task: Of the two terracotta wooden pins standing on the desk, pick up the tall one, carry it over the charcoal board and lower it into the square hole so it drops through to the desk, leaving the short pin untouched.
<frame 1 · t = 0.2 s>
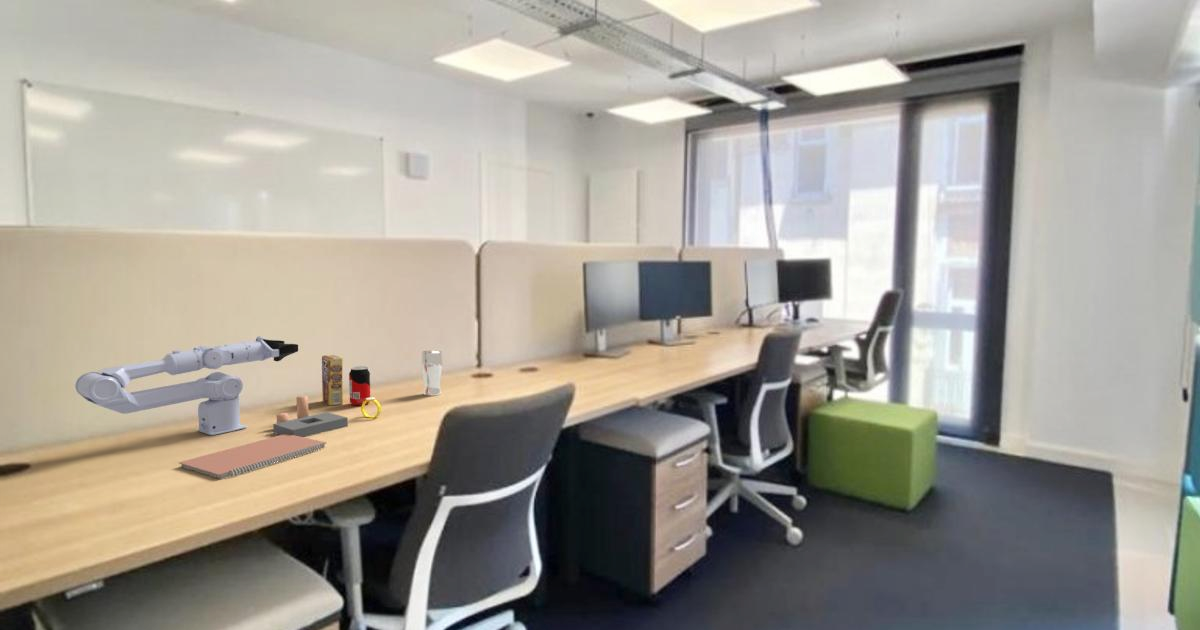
hand: (290, 346, 191), 21 cm above the table, tool horizontal, fingers open, 7 cm apart
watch: (371, 418, 191), on the table
long pin: (303, 420, 187), on the table
candy box: (333, 403, 209), on the table
beer glass: (432, 394, 223), on the table
hole board: (311, 429, 178), on the table
short pin: (282, 428, 179), on the table
beverage can: (360, 404, 208), on the table
notebook: (258, 460, 154), on the table
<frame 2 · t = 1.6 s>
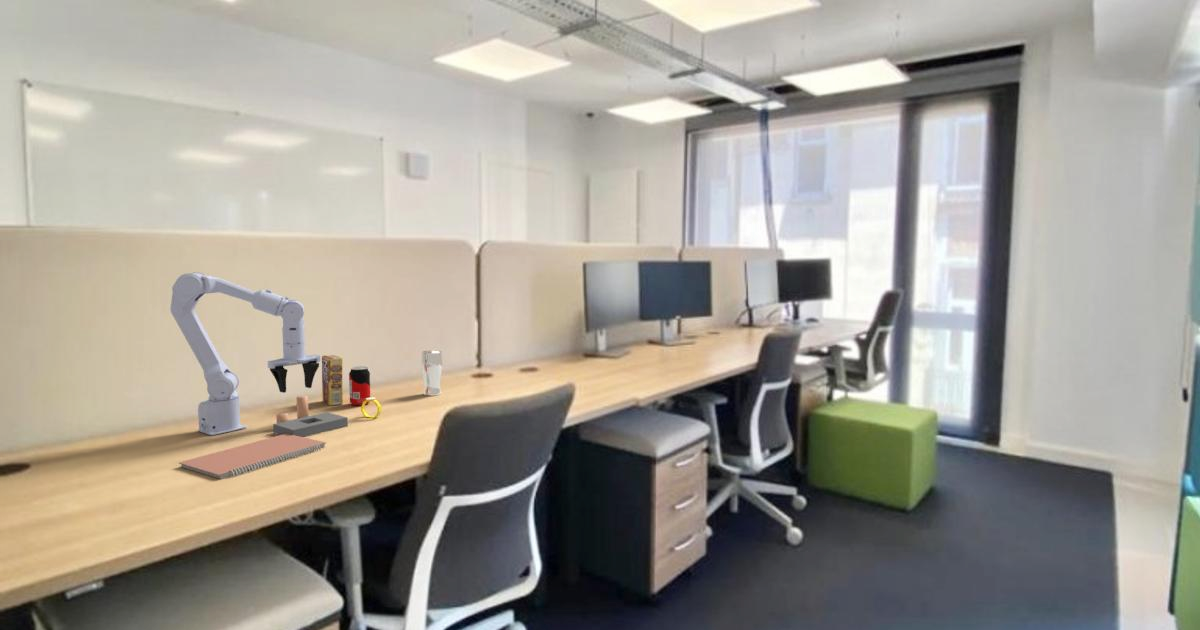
hand: (295, 389, 183), 10 cm above the table, tool pointing down, fingers open, 7 cm apart
nothing on the table moved.
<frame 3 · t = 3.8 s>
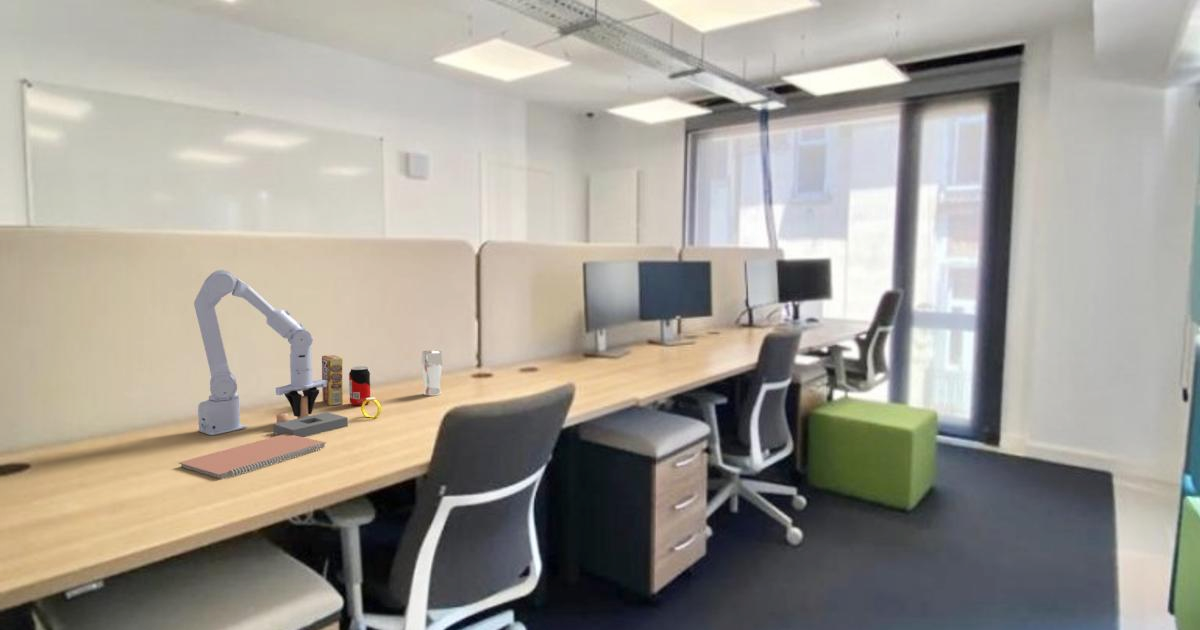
hand: (302, 414, 187), 2 cm above the table, tool pointing down, fingers closed on long pin, 3 cm apart
long pin: (303, 420, 187), on the table, touching gripper
everything else where it was.
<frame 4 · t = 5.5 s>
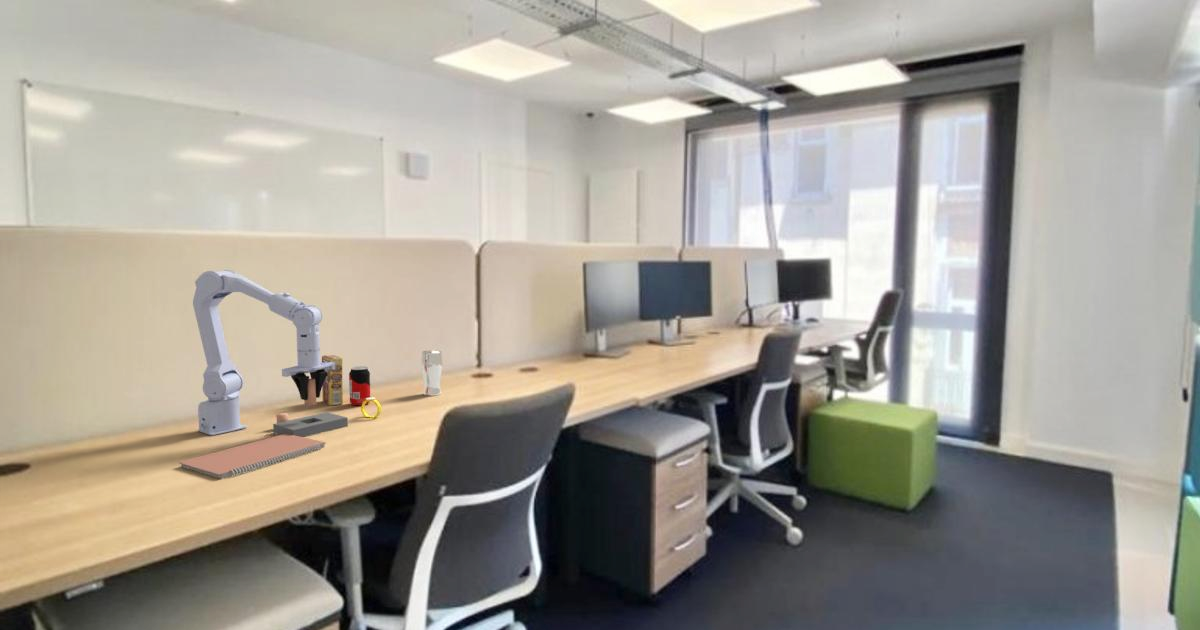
hand: (310, 398, 177), 9 cm above the table, tool pointing down, fingers closed on long pin, 3 cm apart
long pin: (310, 404, 177), point 7 cm above the table, touching gripper
everything else where it was.
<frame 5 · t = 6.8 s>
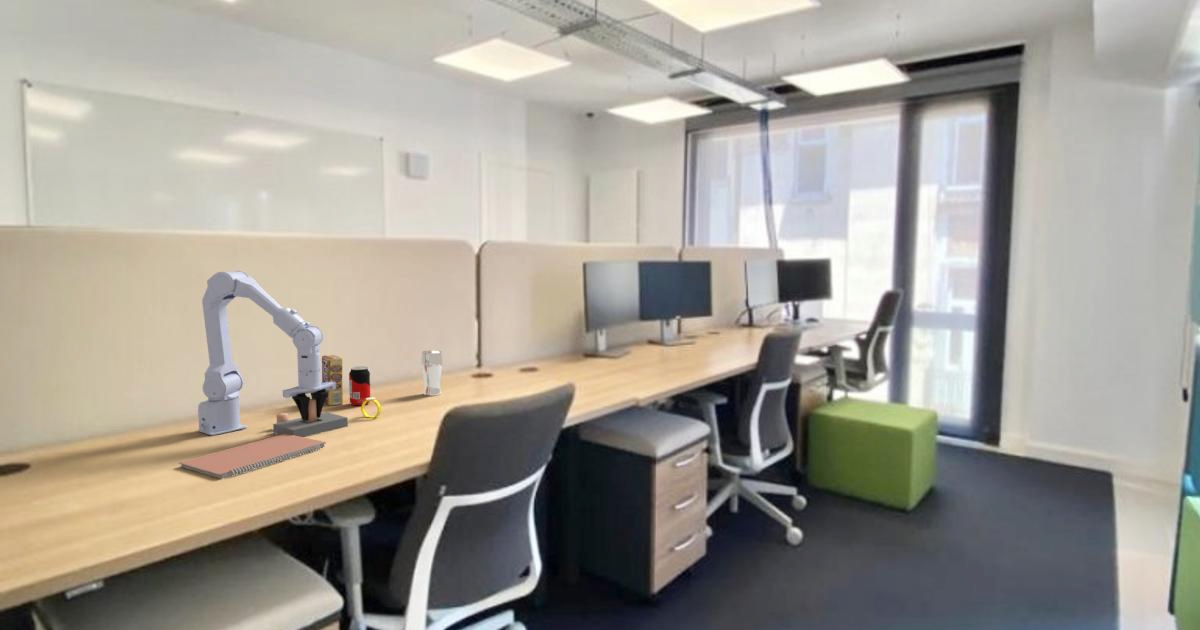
hand: (311, 418, 177), 3 cm above the table, tool pointing down, fingers closed on long pin, 3 cm apart
long pin: (311, 424, 178), point 1 cm above the table, touching gripper
everything else where it was.
when the fingers open (3 cm above the table, at t = 7.5 s): long pin drops 1 cm, resting in hole board.
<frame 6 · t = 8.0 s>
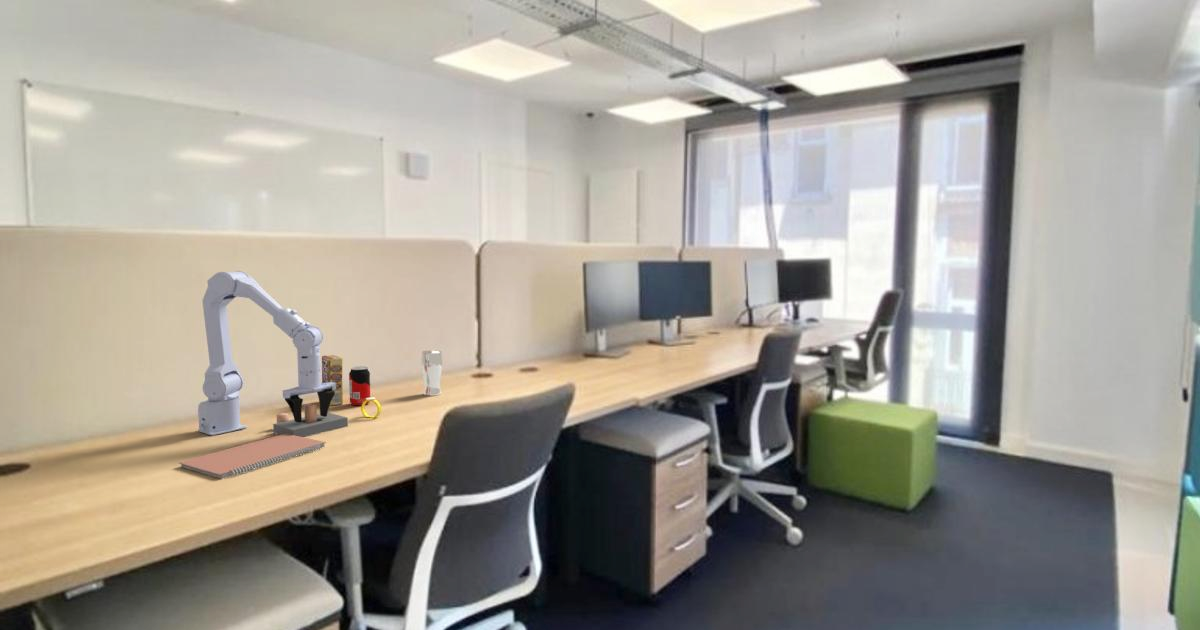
hand: (311, 418, 177), 3 cm above the table, tool pointing down, fingers open, 7 cm apart
long pin: (311, 429, 178), resting in hole board
everything else where it was.
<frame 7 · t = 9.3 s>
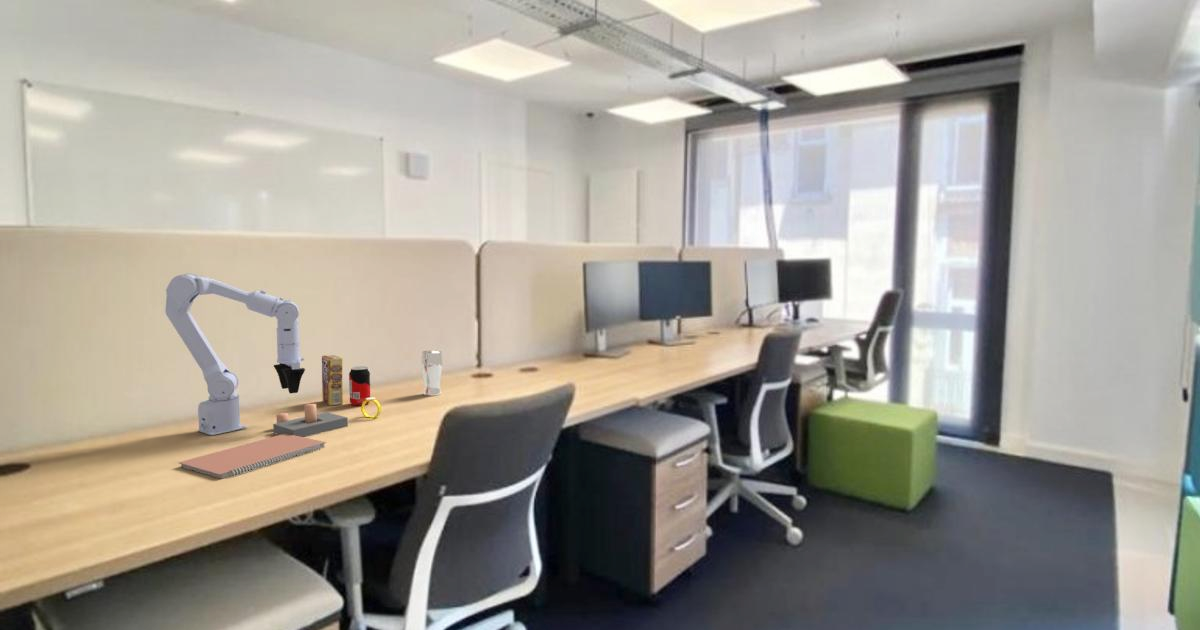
hand: (289, 390, 182), 10 cm above the table, tool pointing down, fingers open, 7 cm apart
nothing on the table moved.
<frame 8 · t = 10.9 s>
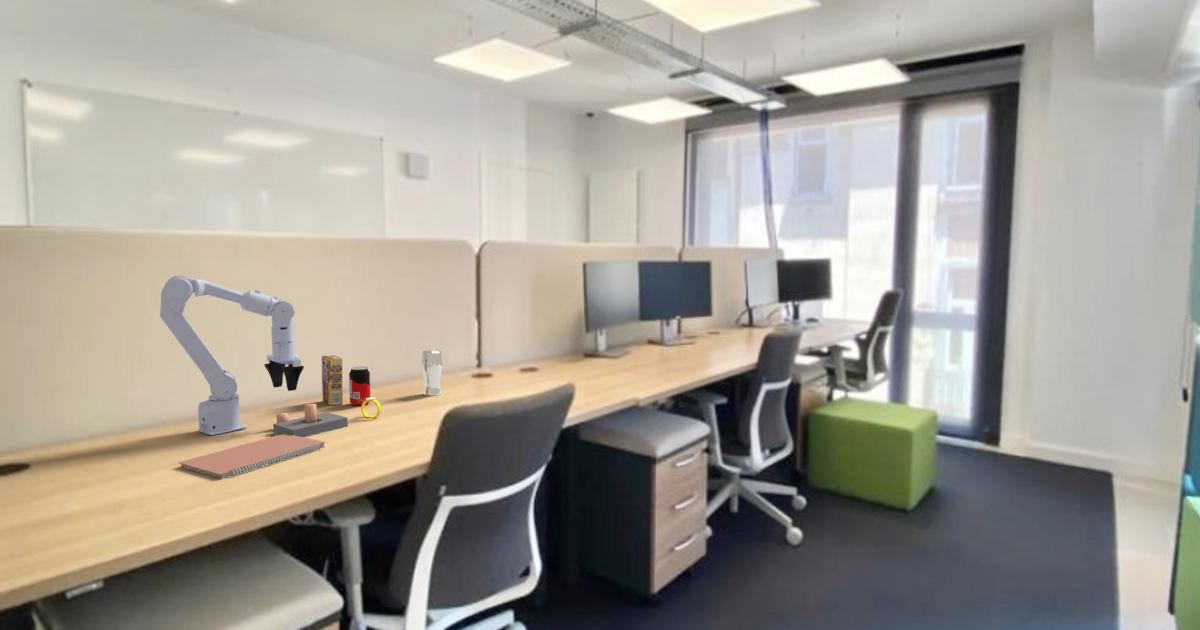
hand: (284, 388, 184), 10 cm above the table, tool pointing down, fingers open, 7 cm apart
nothing on the table moved.
at the end: long pin 0.0 cm off-centre on the hole board, point 0.0 cm above the hole board's base; long pin tilted 0°; short pin moved 0.0 cm from its start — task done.
